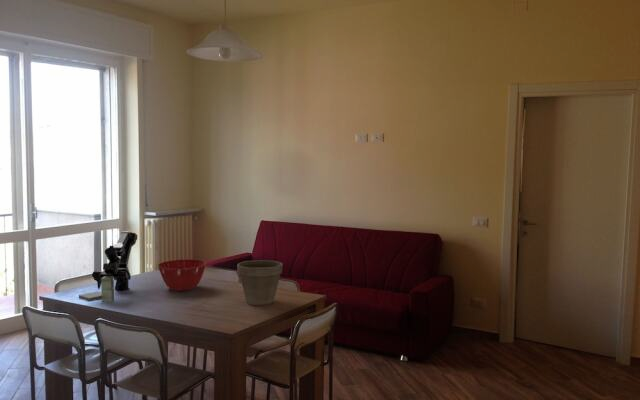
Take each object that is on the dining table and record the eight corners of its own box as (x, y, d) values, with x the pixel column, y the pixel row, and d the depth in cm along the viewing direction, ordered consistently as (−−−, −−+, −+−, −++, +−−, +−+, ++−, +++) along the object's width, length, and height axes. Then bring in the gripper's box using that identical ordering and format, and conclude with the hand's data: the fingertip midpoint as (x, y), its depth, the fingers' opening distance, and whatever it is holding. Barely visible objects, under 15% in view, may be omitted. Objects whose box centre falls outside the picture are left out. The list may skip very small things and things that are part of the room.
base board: (97, 294, 321) (96, 291, 320) (107, 297, 314) (107, 294, 314) (78, 297, 312) (78, 295, 312) (89, 301, 305) (89, 298, 305)
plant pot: (254, 294, 322) (254, 257, 320) (290, 299, 310) (290, 261, 309) (228, 304, 300) (228, 265, 298) (266, 310, 288) (266, 269, 287)
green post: (105, 299, 310) (104, 276, 309) (114, 299, 310) (113, 276, 309) (101, 301, 305) (101, 278, 304) (110, 301, 305) (110, 278, 304)
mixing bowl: (183, 296, 317) (183, 269, 316) (148, 290, 331) (147, 264, 330) (215, 286, 341) (215, 262, 340) (181, 281, 355) (181, 257, 354)
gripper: (92, 257, 309) (85, 280, 299) (126, 257, 310) (120, 280, 299) (98, 268, 318) (91, 291, 307) (131, 268, 318) (125, 291, 308)
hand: (106, 288), depth 305 cm, fingers open, 9 cm apart
